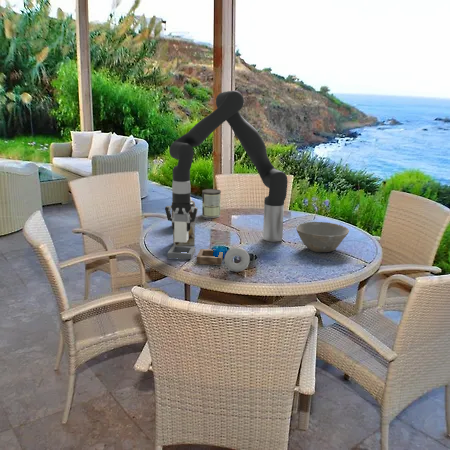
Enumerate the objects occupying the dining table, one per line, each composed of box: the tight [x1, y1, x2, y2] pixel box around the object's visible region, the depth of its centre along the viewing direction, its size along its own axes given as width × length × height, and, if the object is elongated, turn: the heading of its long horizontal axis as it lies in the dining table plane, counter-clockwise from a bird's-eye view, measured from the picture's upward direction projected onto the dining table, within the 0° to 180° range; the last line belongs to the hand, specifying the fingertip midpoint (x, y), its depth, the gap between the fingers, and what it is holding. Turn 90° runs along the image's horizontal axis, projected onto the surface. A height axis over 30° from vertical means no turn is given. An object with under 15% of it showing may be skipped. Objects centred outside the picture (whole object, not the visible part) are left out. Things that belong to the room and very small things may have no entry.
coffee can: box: [201, 188, 222, 219], centre depth 275 cm, size 10×10×14 cm
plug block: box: [174, 213, 188, 243], centre depth 209 cm, size 5×5×12 cm
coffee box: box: [172, 209, 196, 247], centre depth 225 cm, size 9×6×16 cm
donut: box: [223, 246, 251, 273], centre depth 194 cm, size 10×4×10 cm, turn 91°
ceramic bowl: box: [296, 221, 350, 253], centre depth 222 cm, size 22×23×10 cm
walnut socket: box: [196, 248, 224, 266], centre depth 207 cm, size 10×10×3 cm
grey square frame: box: [167, 245, 196, 260], centre depth 212 cm, size 10×10×2 cm
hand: (181, 230), depth 210 cm, fingers closed on plug block, 5 cm apart
